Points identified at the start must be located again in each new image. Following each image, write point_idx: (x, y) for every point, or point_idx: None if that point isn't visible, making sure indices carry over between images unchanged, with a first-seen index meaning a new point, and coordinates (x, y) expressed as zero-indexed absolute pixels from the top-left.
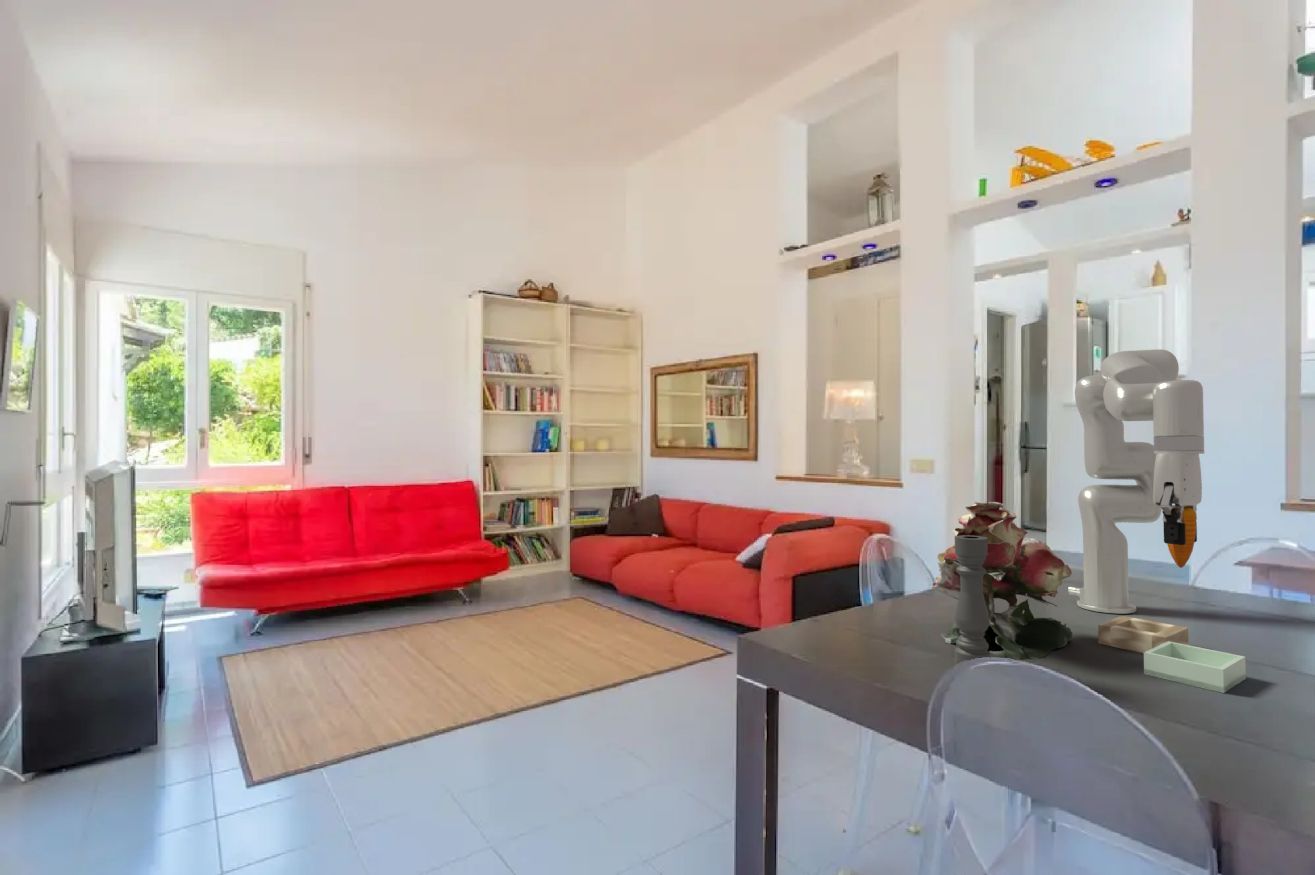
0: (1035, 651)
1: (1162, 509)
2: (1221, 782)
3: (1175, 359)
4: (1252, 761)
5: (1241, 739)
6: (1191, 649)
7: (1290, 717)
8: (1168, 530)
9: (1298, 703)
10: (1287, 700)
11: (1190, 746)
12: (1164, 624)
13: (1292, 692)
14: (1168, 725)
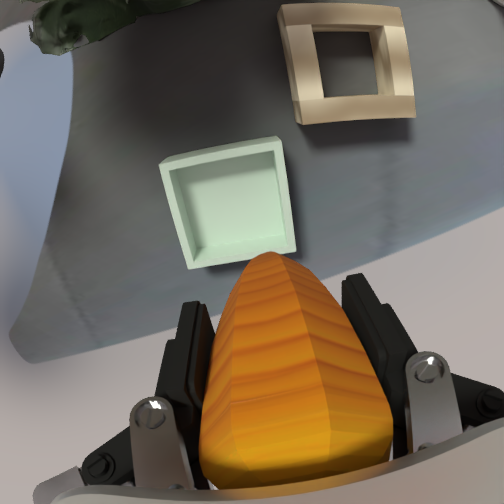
0: (104, 19)
1: (56, 477)
2: (21, 332)
3: None
4: (60, 333)
5: (84, 316)
6: (278, 180)
7: None
8: (162, 374)
9: None
10: None
11: (36, 303)
12: (404, 81)
13: None
14: (48, 274)
